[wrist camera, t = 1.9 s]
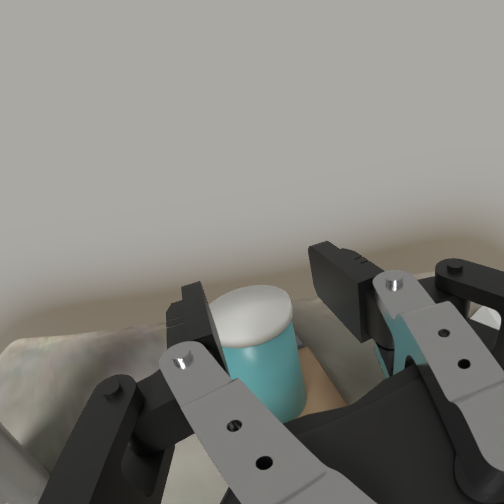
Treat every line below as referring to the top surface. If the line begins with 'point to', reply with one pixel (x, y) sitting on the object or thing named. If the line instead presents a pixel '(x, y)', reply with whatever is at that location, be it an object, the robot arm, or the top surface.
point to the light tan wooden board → (317, 386)
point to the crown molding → (487, 317)
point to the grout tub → (262, 346)
